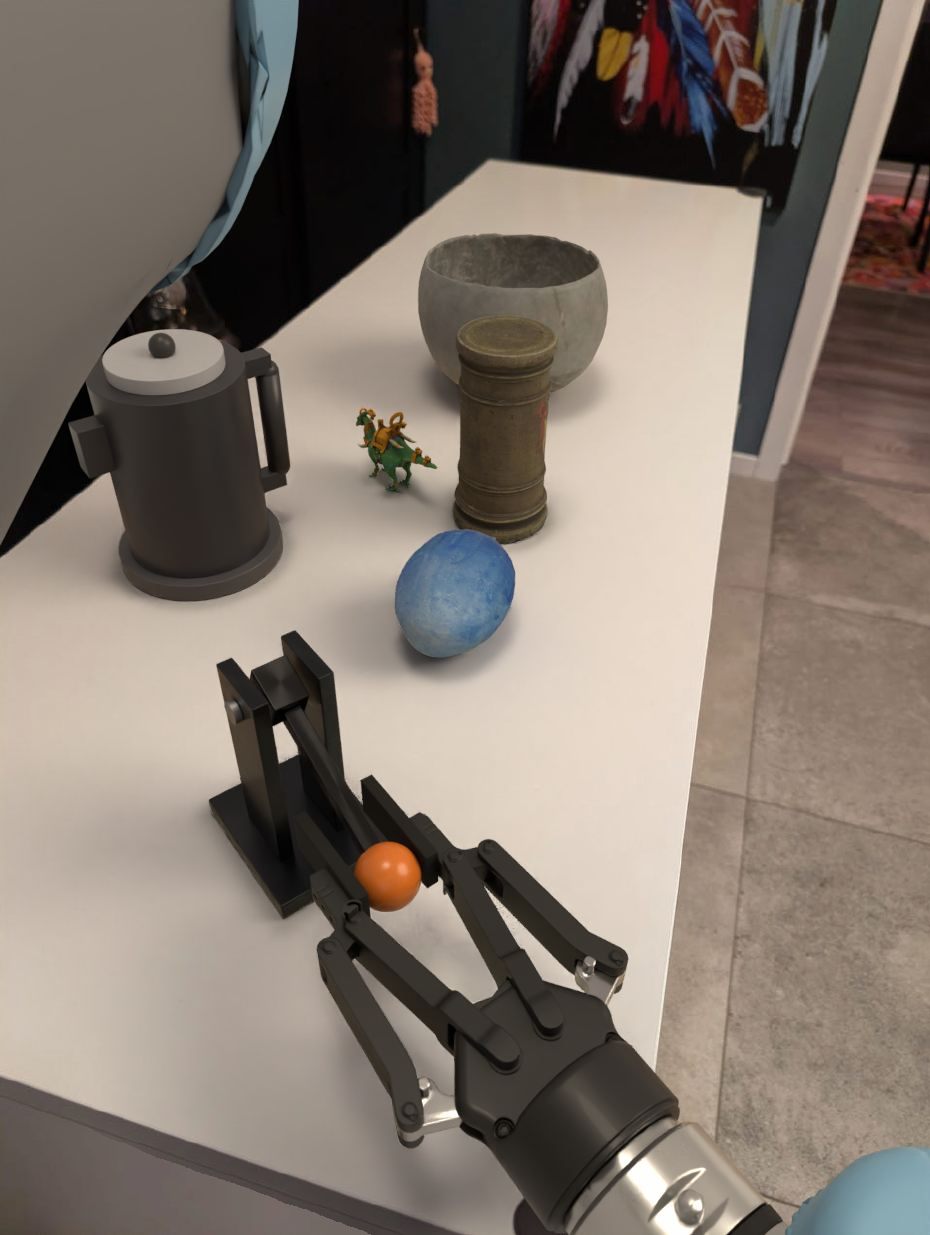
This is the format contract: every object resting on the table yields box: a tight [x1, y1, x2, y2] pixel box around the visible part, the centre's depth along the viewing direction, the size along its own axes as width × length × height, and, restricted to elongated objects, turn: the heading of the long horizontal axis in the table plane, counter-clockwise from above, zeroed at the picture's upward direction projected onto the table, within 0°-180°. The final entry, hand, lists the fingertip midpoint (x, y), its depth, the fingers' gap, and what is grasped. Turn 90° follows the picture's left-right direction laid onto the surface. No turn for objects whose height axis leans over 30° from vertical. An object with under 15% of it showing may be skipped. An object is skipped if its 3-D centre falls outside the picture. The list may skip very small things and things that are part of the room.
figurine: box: [355, 407, 438, 492], centre depth 92 cm, size 3×12×8 cm, turn 42°
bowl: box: [417, 232, 609, 394], centre depth 105 cm, size 20×20×15 cm
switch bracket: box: [208, 630, 389, 919], centre depth 58 cm, size 10×8×15 cm
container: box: [452, 315, 558, 544], centre depth 85 cm, size 9×9×18 cm
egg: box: [394, 529, 516, 659], centre depth 76 cm, size 9×9×15 cm
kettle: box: [68, 328, 291, 602], centre depth 79 cm, size 17×14×20 cm
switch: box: [249, 655, 422, 913], centre depth 52 cm, size 15×4×4 cm, turn 37°
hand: (335, 810), depth 54 cm, fingers closed on switch, 4 cm apart
